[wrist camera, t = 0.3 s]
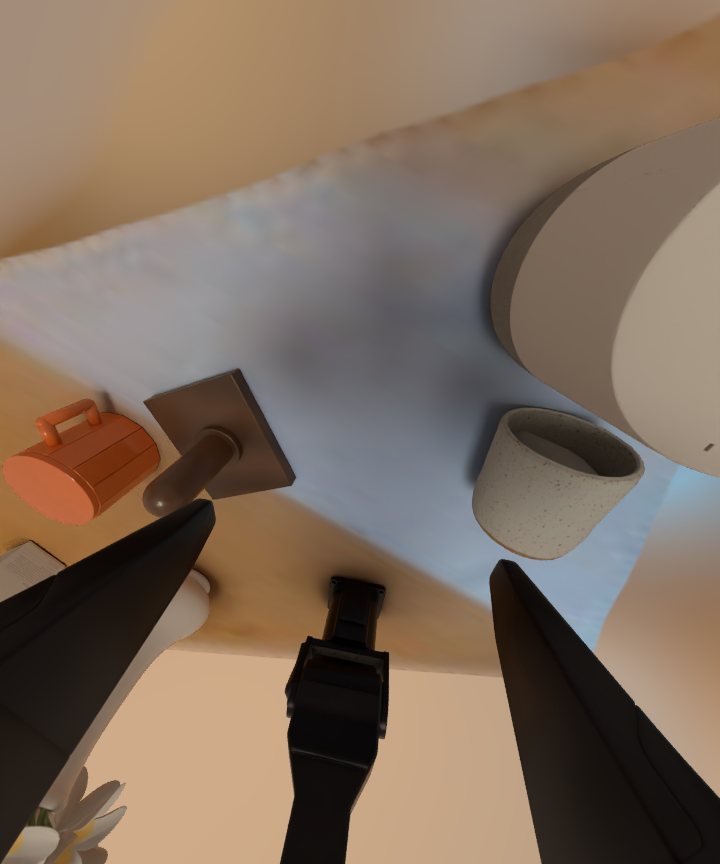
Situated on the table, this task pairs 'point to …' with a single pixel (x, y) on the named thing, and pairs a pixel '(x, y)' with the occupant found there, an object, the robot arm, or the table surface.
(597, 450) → the ceramic mug
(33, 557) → the product box
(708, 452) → the smart speaker
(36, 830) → the flower vase
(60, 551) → the table surface
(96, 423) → the orange cup
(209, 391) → the cup stand
